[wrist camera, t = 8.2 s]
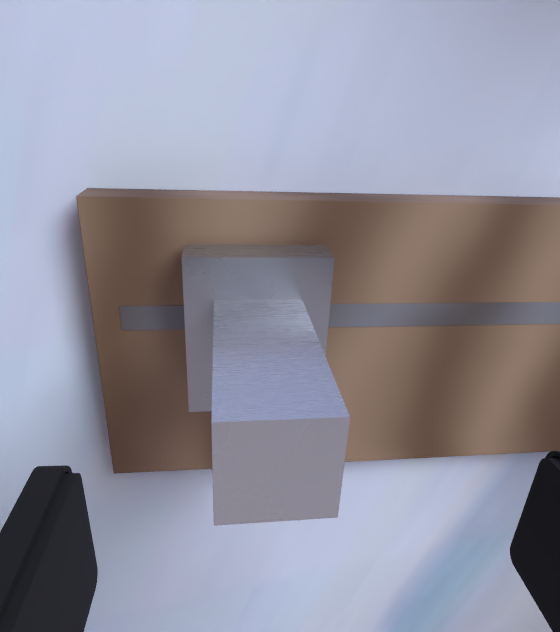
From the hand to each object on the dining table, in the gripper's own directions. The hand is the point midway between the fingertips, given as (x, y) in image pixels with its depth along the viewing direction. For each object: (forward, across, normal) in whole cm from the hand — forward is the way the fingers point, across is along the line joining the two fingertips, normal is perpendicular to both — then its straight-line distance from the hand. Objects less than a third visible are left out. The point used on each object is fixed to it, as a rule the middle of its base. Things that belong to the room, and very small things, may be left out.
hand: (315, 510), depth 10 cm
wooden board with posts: (+12, -8, +2) cm, 14 cm away
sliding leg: (+9, +1, +2) cm, 9 cm away
